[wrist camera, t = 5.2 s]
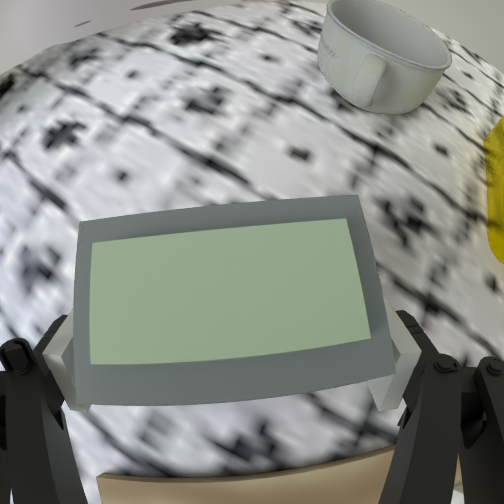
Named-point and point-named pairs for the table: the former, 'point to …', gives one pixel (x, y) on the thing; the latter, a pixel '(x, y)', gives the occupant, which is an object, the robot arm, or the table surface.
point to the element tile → (495, 188)
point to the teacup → (380, 56)
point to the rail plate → (268, 485)
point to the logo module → (227, 303)
